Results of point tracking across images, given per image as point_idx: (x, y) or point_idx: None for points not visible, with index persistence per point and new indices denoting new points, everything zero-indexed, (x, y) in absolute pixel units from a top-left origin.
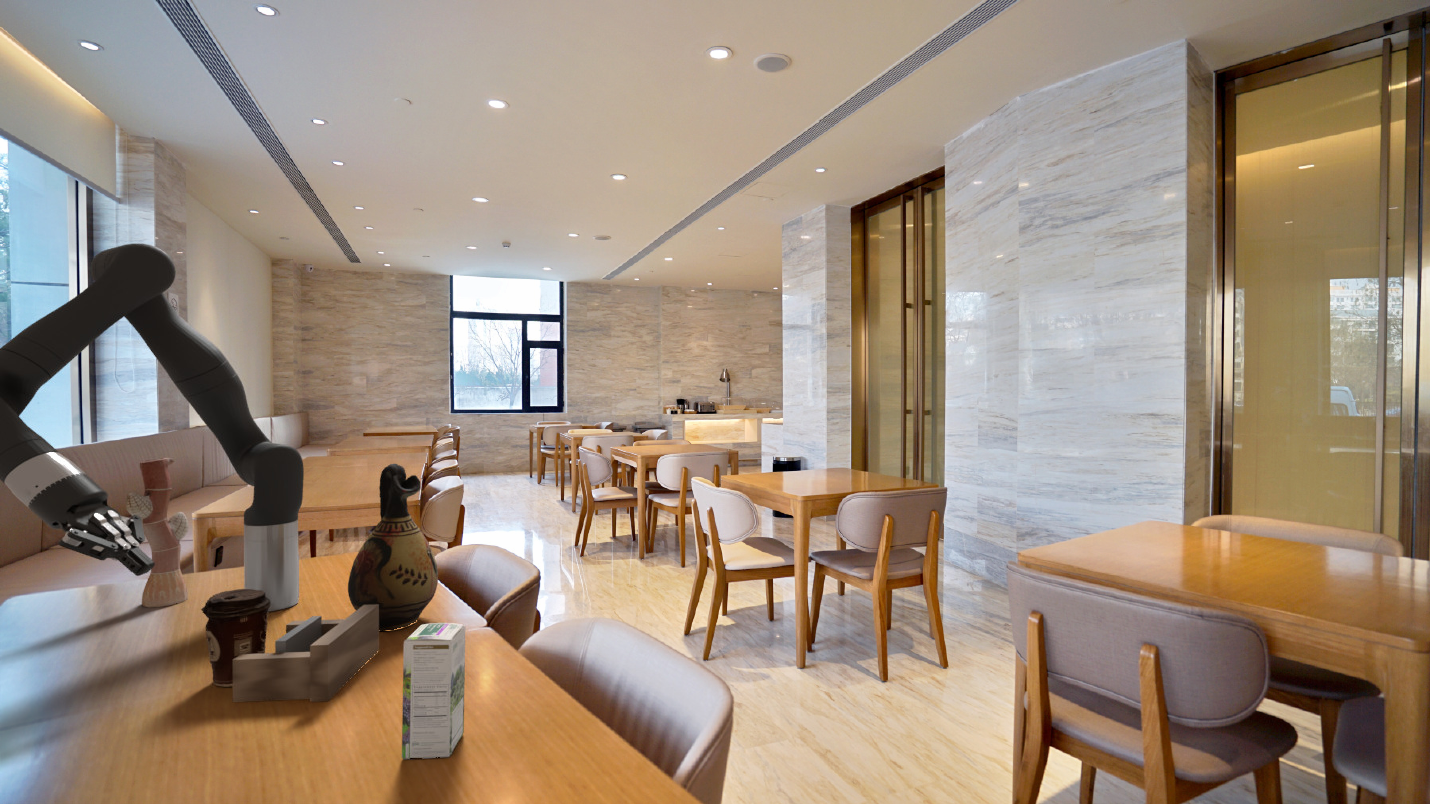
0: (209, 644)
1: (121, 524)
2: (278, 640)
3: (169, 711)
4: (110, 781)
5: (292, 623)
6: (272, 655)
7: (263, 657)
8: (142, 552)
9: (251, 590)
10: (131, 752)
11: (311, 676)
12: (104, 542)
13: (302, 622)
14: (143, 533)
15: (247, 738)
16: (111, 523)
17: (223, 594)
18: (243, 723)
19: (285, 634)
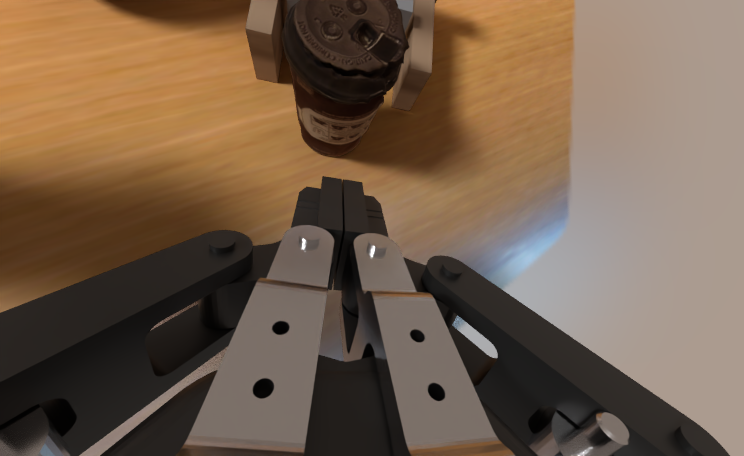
0: (368, 122)
1: (270, 358)
2: (410, 8)
3: (423, 173)
4: (556, 156)
5: (264, 25)
6: (422, 27)
7: (429, 36)
8: (325, 206)
9: (309, 4)
10: (511, 165)
11: (435, 2)
12: (496, 300)
13: (262, 11)
14: (143, 260)
15: (494, 71)
16: (307, 448)
17: (337, 52)
18: (463, 83)
19: None
